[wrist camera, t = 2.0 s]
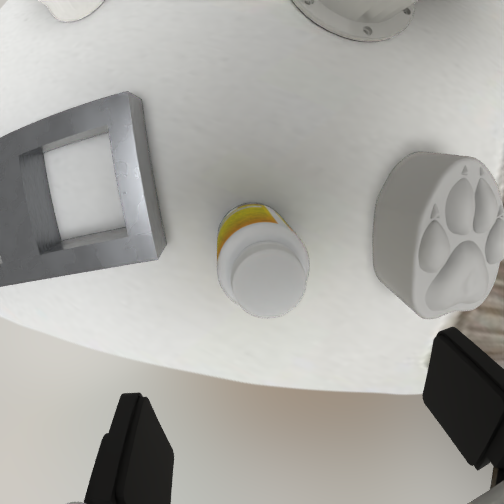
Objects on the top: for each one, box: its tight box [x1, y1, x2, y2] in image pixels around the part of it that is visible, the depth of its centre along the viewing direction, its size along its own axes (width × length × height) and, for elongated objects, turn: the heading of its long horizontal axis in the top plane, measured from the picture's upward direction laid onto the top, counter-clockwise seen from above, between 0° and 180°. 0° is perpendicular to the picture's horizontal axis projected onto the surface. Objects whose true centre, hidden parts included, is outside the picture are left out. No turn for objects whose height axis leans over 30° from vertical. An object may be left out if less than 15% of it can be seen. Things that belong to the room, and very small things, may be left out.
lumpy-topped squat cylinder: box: [373, 152, 504, 319], centre depth 23 cm, size 10×13×9 cm
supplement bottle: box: [217, 203, 309, 318], centre depth 22 cm, size 6×6×10 cm
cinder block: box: [0, 91, 167, 287], centre depth 22 cm, size 12×24×4 cm, turn 97°
